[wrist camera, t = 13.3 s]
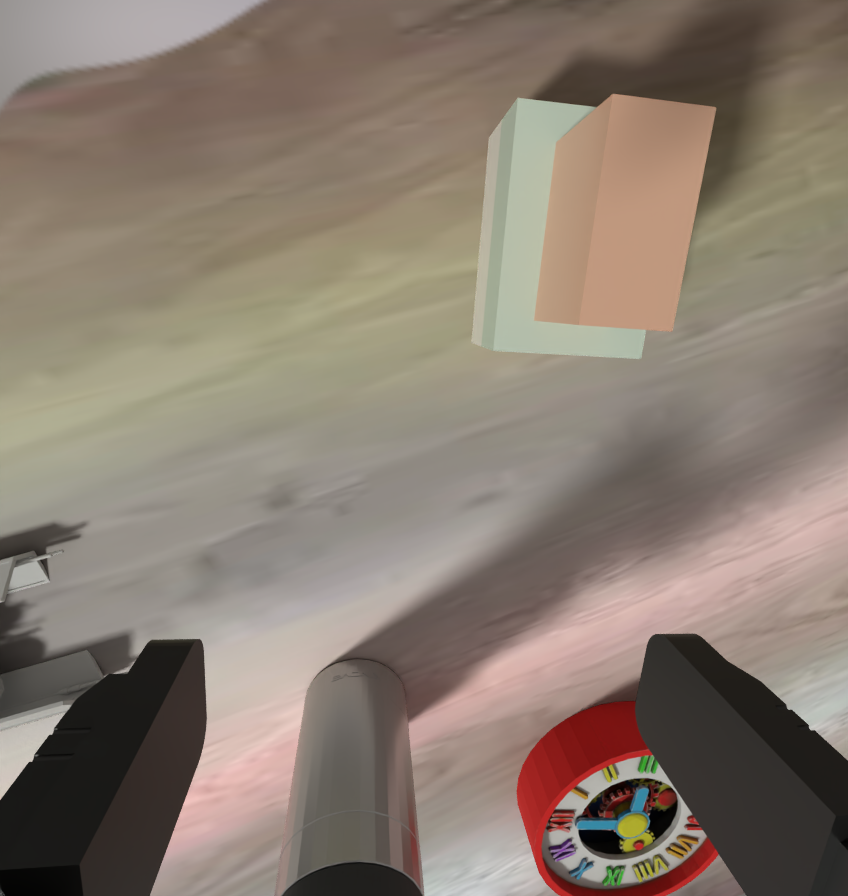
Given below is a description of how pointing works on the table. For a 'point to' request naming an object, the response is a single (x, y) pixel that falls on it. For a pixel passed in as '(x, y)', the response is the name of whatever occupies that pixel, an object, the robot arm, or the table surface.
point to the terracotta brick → (623, 214)
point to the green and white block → (529, 241)
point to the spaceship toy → (45, 683)
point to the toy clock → (607, 811)
